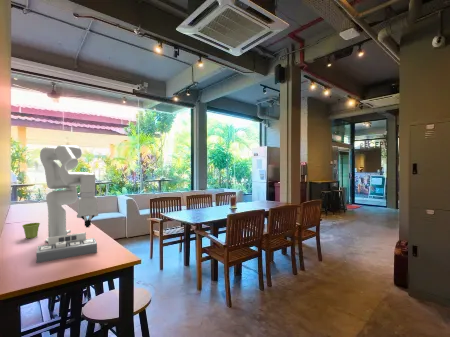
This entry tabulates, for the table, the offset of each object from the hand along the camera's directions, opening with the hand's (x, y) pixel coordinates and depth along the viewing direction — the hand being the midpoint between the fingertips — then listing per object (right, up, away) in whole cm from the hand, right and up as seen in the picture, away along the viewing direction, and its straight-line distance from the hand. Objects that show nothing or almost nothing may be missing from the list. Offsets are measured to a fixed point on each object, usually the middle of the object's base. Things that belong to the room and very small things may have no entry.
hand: (87, 227), depth 141 cm
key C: (-5, -11, -4) cm, 13 cm away
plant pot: (-51, -13, +24) cm, 58 cm away
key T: (0, -11, 0) cm, 11 cm away
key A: (-16, -11, -11) cm, 22 cm away
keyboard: (-8, -13, -5) cm, 16 cm away
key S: (-10, -10, -7) cm, 16 cm away
